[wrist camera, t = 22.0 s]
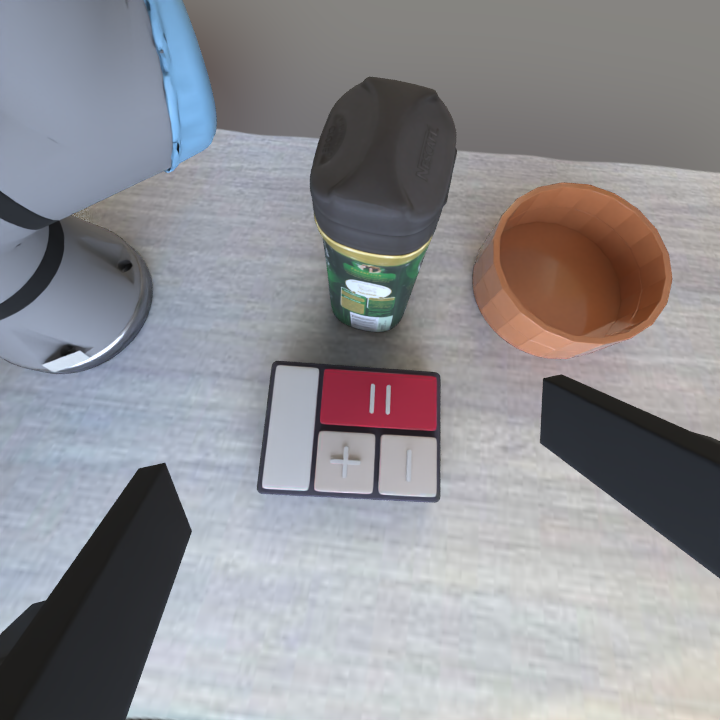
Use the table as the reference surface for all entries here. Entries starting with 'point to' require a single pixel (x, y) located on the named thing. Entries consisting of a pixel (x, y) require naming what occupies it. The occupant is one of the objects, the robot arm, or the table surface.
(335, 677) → the table surface
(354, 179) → the coffee jar
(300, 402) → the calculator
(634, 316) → the pot
